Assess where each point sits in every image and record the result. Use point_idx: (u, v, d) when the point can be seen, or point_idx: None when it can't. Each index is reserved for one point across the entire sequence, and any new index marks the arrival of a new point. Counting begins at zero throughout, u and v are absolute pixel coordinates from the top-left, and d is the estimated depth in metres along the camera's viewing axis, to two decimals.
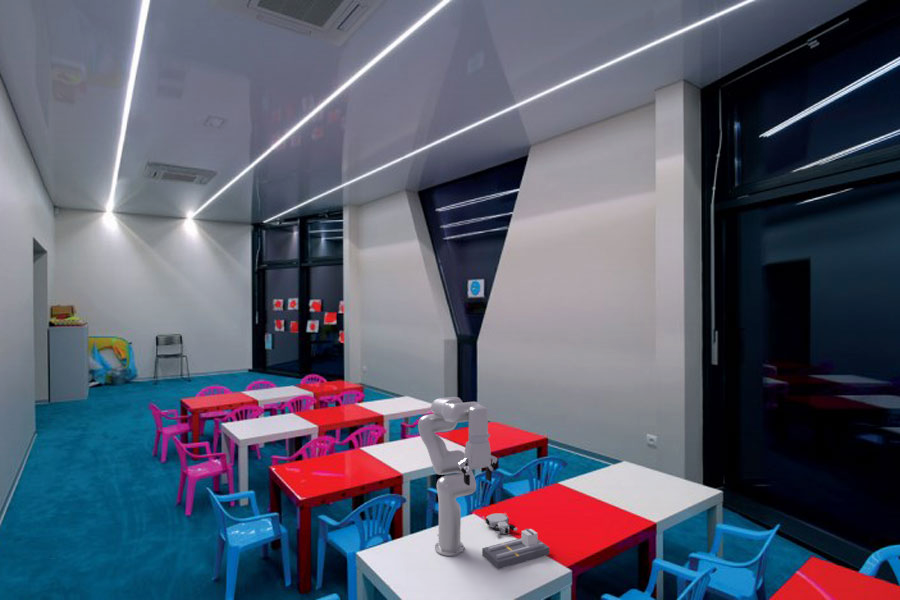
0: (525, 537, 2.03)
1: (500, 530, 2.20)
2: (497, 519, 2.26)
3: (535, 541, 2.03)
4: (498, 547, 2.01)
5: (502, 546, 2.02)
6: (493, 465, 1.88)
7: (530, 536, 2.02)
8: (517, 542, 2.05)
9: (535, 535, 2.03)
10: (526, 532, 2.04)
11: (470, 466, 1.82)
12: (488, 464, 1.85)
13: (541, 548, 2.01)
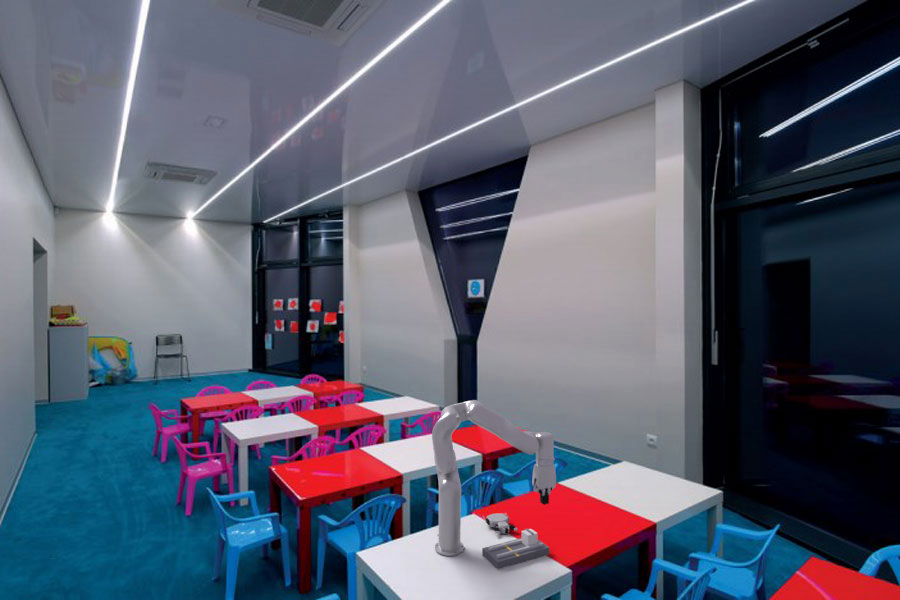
0: (525, 537, 2.03)
1: (500, 530, 2.20)
2: (497, 519, 2.26)
3: (535, 541, 2.03)
4: (498, 547, 2.01)
5: (502, 546, 2.02)
6: None
7: (530, 536, 2.02)
8: (517, 542, 2.05)
9: (535, 535, 2.03)
10: (526, 532, 2.04)
11: (539, 486, 2.05)
12: (553, 484, 2.08)
13: (541, 548, 2.01)
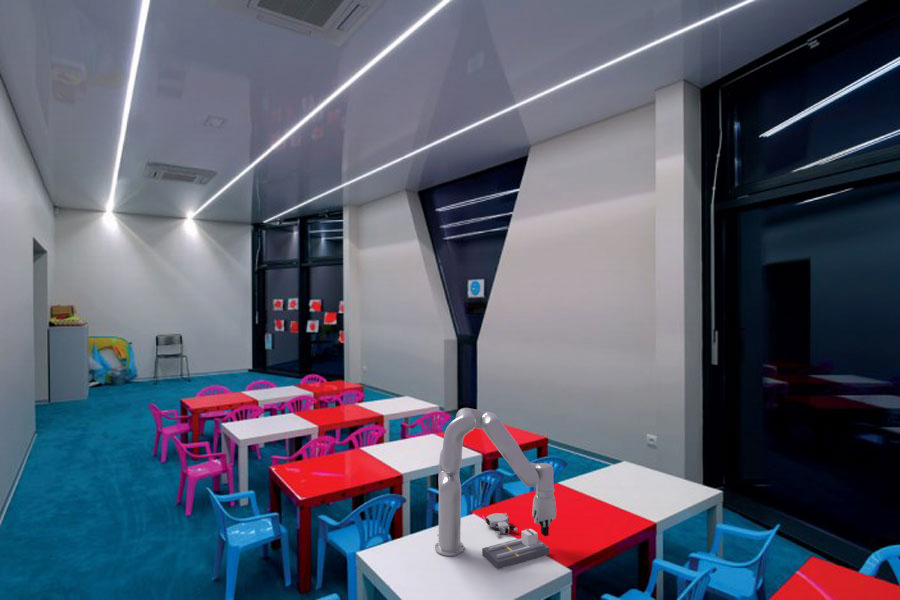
0: (525, 537, 2.03)
1: (500, 530, 2.20)
2: (497, 519, 2.26)
3: (535, 541, 2.03)
4: (498, 547, 2.01)
5: (502, 546, 2.02)
6: (550, 521, 2.09)
7: (530, 536, 2.02)
8: (517, 542, 2.05)
9: (535, 535, 2.03)
10: (526, 532, 2.04)
11: (539, 518, 2.05)
12: (554, 516, 2.08)
13: (541, 548, 2.01)
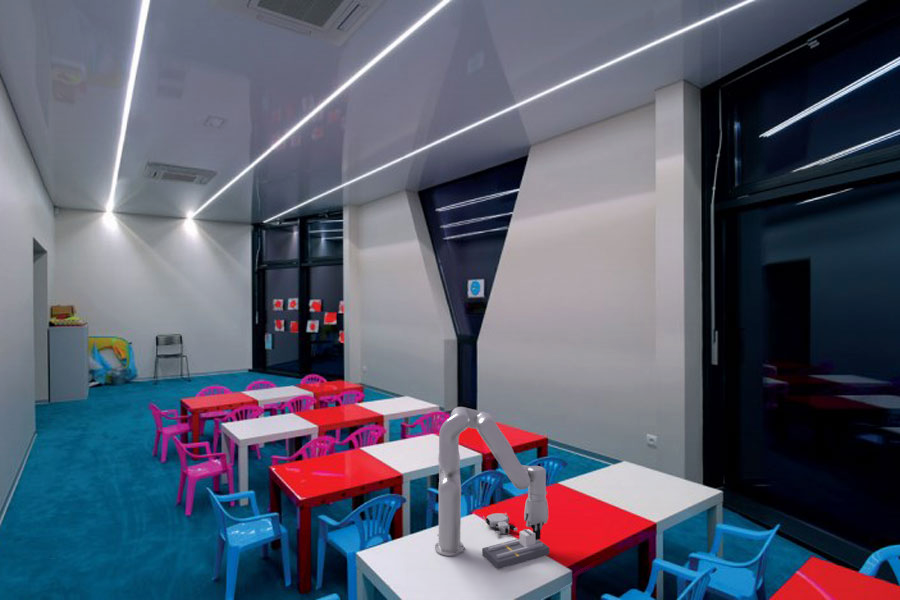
0: (523, 537, 2.03)
1: (500, 530, 2.20)
2: (497, 519, 2.26)
3: (533, 542, 2.03)
4: (498, 547, 2.01)
5: (502, 546, 2.02)
6: (542, 524, 2.07)
7: (528, 537, 2.02)
8: (517, 542, 2.05)
9: (533, 536, 2.03)
10: (524, 533, 2.04)
11: (531, 522, 2.03)
12: (546, 519, 2.06)
13: (541, 548, 2.01)
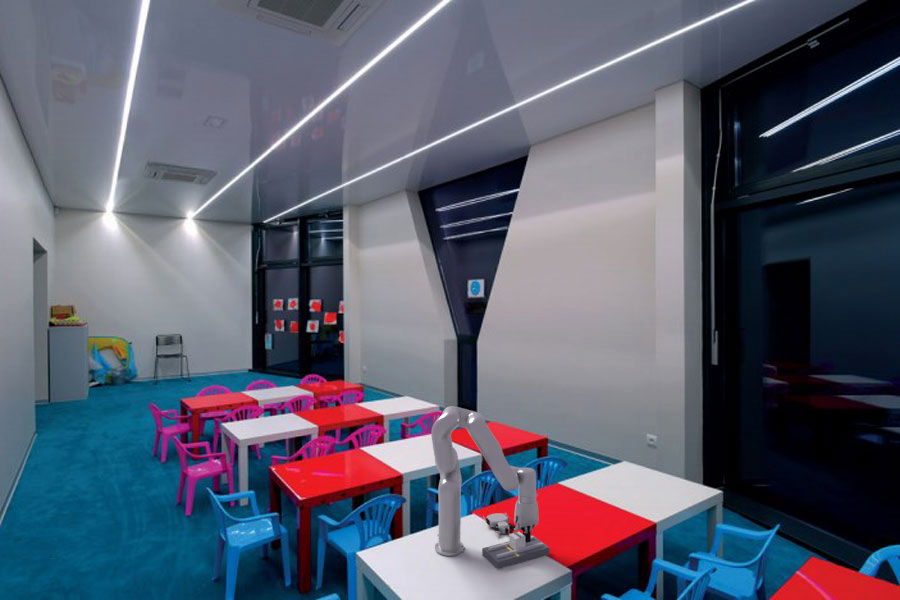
0: (513, 540, 2.00)
1: (500, 530, 2.20)
2: (497, 519, 2.26)
3: (523, 544, 2.00)
4: (498, 547, 2.01)
5: (502, 546, 2.02)
6: (532, 527, 2.04)
7: (518, 539, 1.99)
8: None
9: (523, 538, 2.00)
10: (514, 535, 2.01)
11: (520, 524, 2.00)
12: (536, 521, 2.04)
13: (541, 548, 2.01)
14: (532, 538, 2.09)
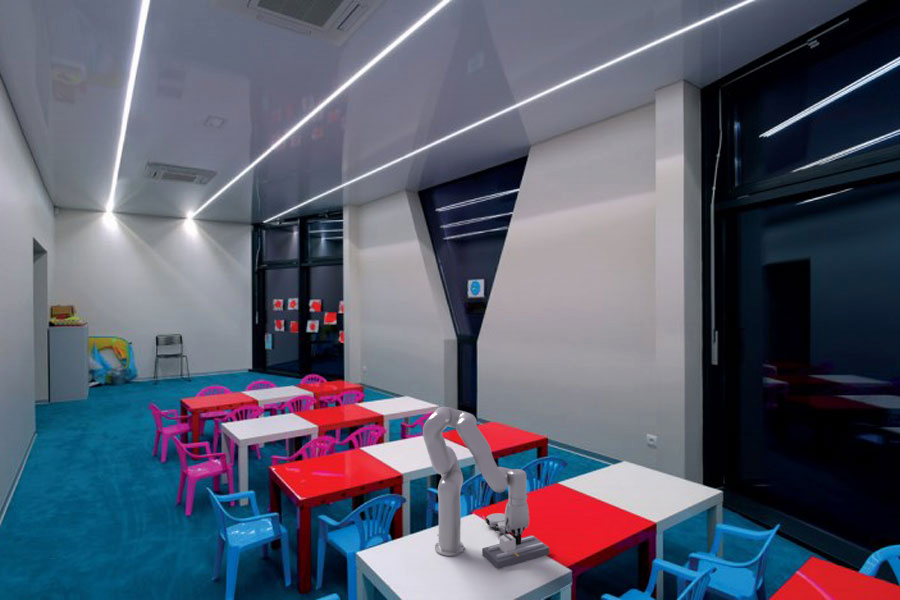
0: (503, 542, 1.98)
1: (500, 530, 2.20)
2: (497, 519, 2.26)
3: (513, 547, 1.98)
4: (498, 547, 2.01)
5: None
6: None
7: (508, 542, 1.97)
8: None
9: (513, 541, 1.98)
10: (504, 538, 1.99)
11: (511, 527, 1.98)
12: (526, 524, 2.02)
13: (541, 548, 2.01)
14: (532, 538, 2.09)
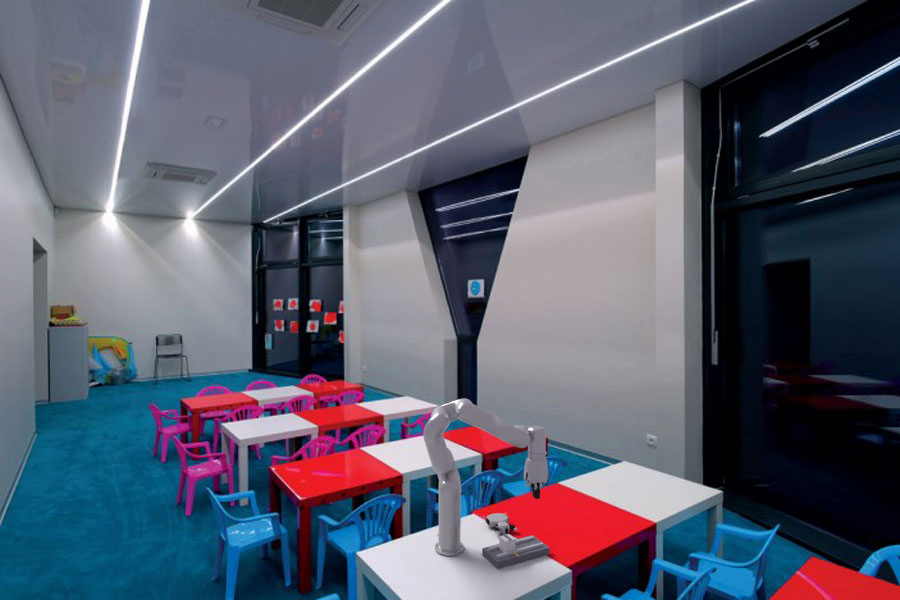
0: (503, 542, 1.98)
1: (500, 530, 2.20)
2: (497, 519, 2.26)
3: (513, 547, 1.98)
4: (498, 547, 2.01)
5: None
6: None
7: (508, 542, 1.97)
8: (517, 542, 2.05)
9: (513, 541, 1.98)
10: (504, 538, 1.99)
11: (530, 480, 2.03)
12: (545, 479, 2.07)
13: (541, 548, 2.01)
14: (532, 538, 2.09)
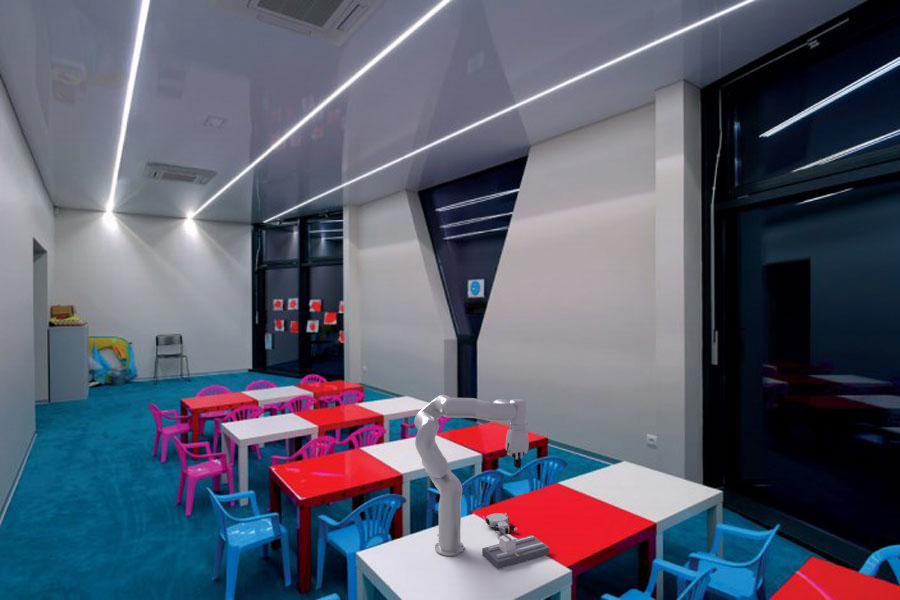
0: (503, 542, 1.98)
1: (500, 530, 2.20)
2: (497, 519, 2.26)
3: (513, 547, 1.98)
4: (498, 547, 2.01)
5: None
6: None
7: (508, 542, 1.97)
8: (517, 542, 2.05)
9: (513, 541, 1.98)
10: (504, 538, 1.99)
11: (511, 450, 2.13)
12: (526, 449, 2.16)
13: (541, 548, 2.01)
14: (532, 538, 2.09)
